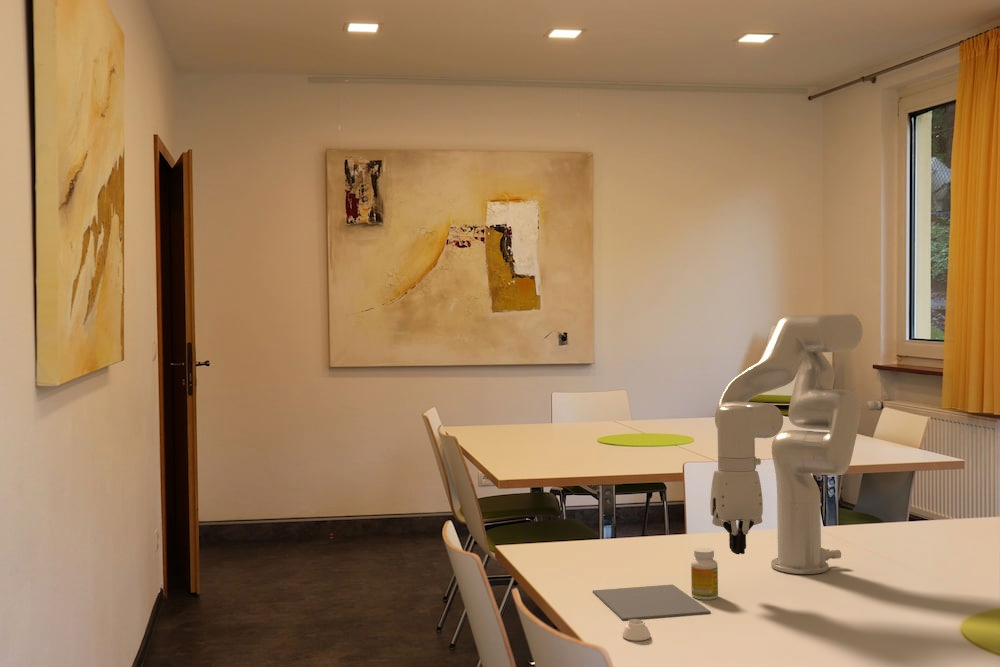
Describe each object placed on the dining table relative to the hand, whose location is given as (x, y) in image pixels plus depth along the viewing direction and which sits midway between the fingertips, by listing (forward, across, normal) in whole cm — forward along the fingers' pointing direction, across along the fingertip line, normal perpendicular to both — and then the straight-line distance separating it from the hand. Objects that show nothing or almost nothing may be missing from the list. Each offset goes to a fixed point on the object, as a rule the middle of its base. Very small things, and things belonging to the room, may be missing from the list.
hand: (737, 552), depth 199 cm
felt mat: (+9, +20, +1) cm, 22 cm away
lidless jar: (+9, +30, +21) cm, 37 cm away
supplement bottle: (+9, +7, 0) cm, 12 cm away
